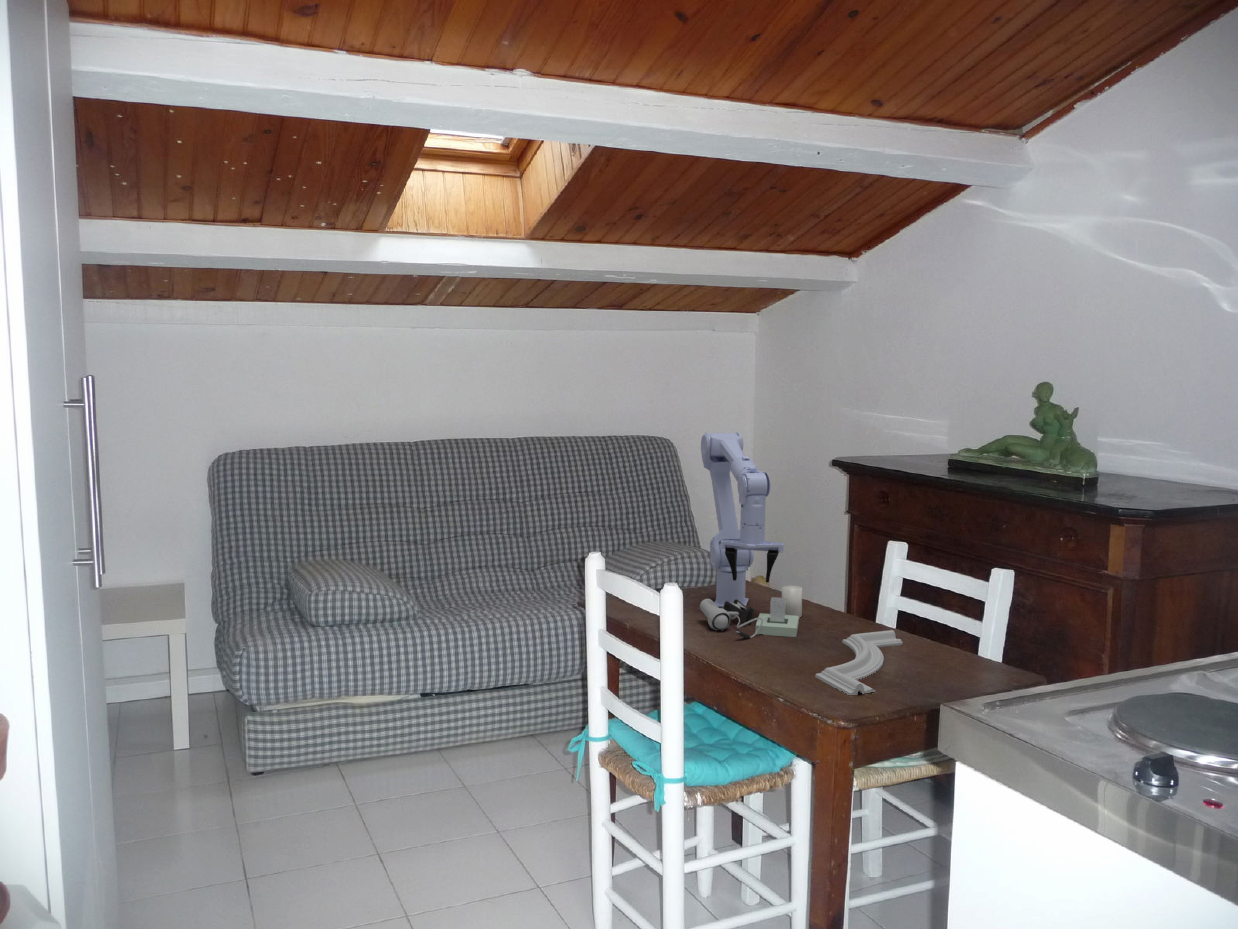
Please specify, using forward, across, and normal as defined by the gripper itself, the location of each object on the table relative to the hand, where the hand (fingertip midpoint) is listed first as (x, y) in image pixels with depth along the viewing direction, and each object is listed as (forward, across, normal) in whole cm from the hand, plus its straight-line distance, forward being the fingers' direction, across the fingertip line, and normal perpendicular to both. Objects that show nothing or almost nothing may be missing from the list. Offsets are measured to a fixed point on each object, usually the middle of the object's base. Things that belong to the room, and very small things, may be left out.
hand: (751, 580), depth 232 cm
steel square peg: (+9, +7, -7) cm, 13 cm away
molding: (+10, +27, -28) cm, 40 cm away
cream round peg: (+9, +9, +6) cm, 14 cm away
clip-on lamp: (+10, -3, -10) cm, 14 cm away
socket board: (+9, +7, -7) cm, 13 cm away
